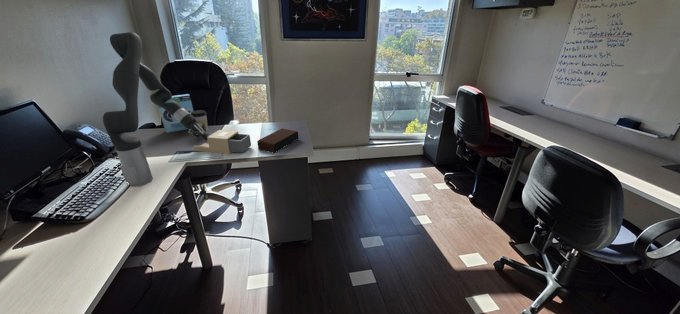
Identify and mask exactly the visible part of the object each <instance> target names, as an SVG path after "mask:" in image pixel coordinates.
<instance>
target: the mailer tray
mask: <svg viewBox="0 0 680 314" xmlns="http://www.w3.org/2000/svg"><path fill="white" fill-rule="evenodd" d="M228 143H229V148H230V151H233V152H234V153H235V152H237V153H244V152H245V151H246V150H247V149H249V148H250V147H252V141H251V136H250V134H245V133H238V134H236V135H234V136H233V137H231V138H230V139H228ZM233 152H232V153H233Z"/></svg>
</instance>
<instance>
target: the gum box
mask: <svg viewBox="0 0 680 314" xmlns="http://www.w3.org/2000/svg"><path fill="white" fill-rule="evenodd" d="M173 101H176V102H177V103H178V104H179V105H181V106H182V107H183V108H184V109H185V110H187V111H188V112H189V113H190V114H191V112H193V111H194V106H193V103H192V99H191V96H190V94H189V93H186V94H177V95H172V98H171V99H170V100H168V101H167V102H165V103H170V102H173ZM157 107H158V110H159V111H158V112H159V114H160V117H161V120H162V124H163V127H164V130H165V133H166V134H168V133H173V132H178V131H185V130H188V128H185V127H184V126H183V125H182V124H181V123H180V122H178V121H177V120H176V119H175V117H174V116H173V115H171V114H170V113H169V112H168V111H167V110H165V109H163V108H162V107H160V106H158V105H157Z"/></svg>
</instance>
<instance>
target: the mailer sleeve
mask: <svg viewBox="0 0 680 314" xmlns="http://www.w3.org/2000/svg"><path fill="white" fill-rule="evenodd" d="M236 134H239V131H237V130H224V129H219V130H217V131H215V132H214V133H212V134H210V135H208V137H207V141H206V140H205V141H206V142H204V143H202V144H201V145H193V151H195V152H205V153H215V154H217V153H218V154H225V155H227V154H228V155H230V154H232V153H233V151H230V148H229V143H228V139H230V138H231V137H233V136H234V135H236Z"/></svg>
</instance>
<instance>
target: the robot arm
mask: <svg viewBox="0 0 680 314" xmlns="http://www.w3.org/2000/svg"><path fill="white" fill-rule="evenodd" d="M109 43H110V46H111V47H112V49H113V51H115V52H116V54H117V55H118V56H119V57H120V58H121V59H122V60H121V61H120V62H119V63H118V64H117V66H115V68H114V70H113V73H112V87H113V89H114V91H115V92H116V93H117V94H118V95H119V97H120V98H121V99H122V100H123V102H124V104H125V109H123V110H115V111H114V110H113V111H105V112H104V114H103V115H102V122H103V126H104V129H105V131H106V132H107V133H106V134H107V135H108V137H109V139H110V142H111V143H112V145H113V147H114V148H115V151H116V154H117V156H118V159H119V162H120V163H121V166H119V167H120V170H121V173H122V175H123V179H124V181H125V183H126V182H128V183H129V185H130V186H131V187H138V188H139V187H141V186H143V185H146V184H149V183H150V182H152V181H153V179H154V177H153V175H152V174H153V173H152V172H151V168H150V166H149V162H148V160H147V156H146V153H145V151H144V147H143V145H142V142H141V139H140V138H138V137H135V136H131V135H128V133H134V132H136V131H137V130H138V129H139V107H138V102H139V101H138V98H139V87H140V85H139V84H140V83H139V82H140V80H141V82H142V83H143V85H144V86H145V87H146V89H147V90H148V91H151V92H152V91H154V92H153V93H151V94H150V96H149V99H150V101H151V102H152V103H153V104H154V105H156V106H157V107H158V106H160V107H162V108H163V109H165V110H167V111H168V112H169V113H170V114H171V115H173V116H174V117H175V119H176V120H177V121H178V122H180V123H181V124H182V125H183V126H184V127H185V128H188V129H187V130H188V132H187V134H189V135H191V136H193V137H197V138H199V137H200V138H202V139H203V140H204V141H207V137H208V136H209V134H206V133H205V132H206V127H205V124H204V123H203V124H200V123H199V122H197V121H196V119H195V118H194V117H193V116H192V115H191V114H190V113H189V112H188V111H187V110H185V109H184V108H183V107H182V106H181V105H179V104H178V103H177V102H176V101H173V102H170V103H165V102H167V101H168V100H170V99H171V98H172V96H173V94H172V92H171V91H170V90H169V89H168V88H167V87H165V86H164V85H163V83H162V82H161V81H160V80H159V78H158V77H157V76H156V74H155V72H154V71H153V70H152V69H151V68H149V67H148V66H146V65H144V63H141V61H142V60H141V58H142V54H143V42H142V39H141V37H140V36H139V35H138V34H137V33H135V32H131V31H129V32H128V31H127V32H120V33H113V34H111V35H110V36H109ZM126 133H127V134H126ZM130 186H129V187H130Z"/></svg>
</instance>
